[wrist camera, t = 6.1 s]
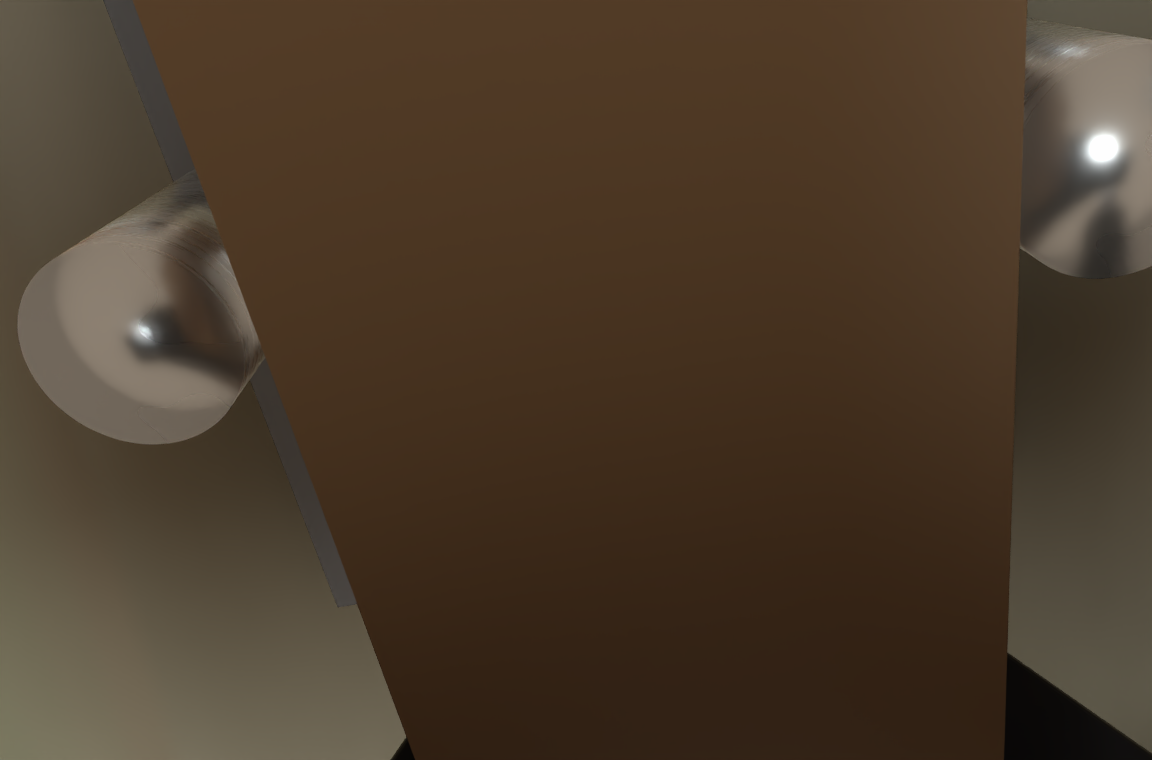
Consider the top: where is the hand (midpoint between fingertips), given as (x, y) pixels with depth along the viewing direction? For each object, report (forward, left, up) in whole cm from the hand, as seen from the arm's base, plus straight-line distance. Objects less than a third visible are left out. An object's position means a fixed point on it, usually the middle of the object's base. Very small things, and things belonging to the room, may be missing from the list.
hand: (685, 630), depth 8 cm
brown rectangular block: (0, -3, -3) cm, 4 cm away
